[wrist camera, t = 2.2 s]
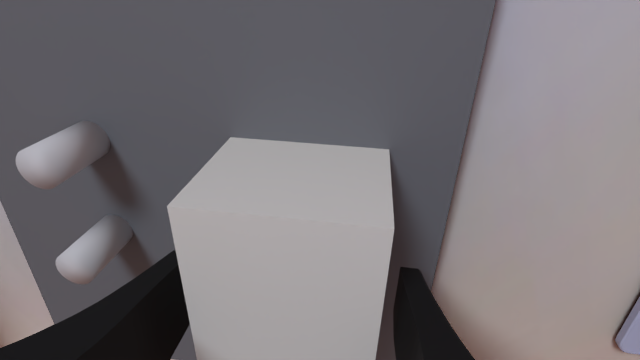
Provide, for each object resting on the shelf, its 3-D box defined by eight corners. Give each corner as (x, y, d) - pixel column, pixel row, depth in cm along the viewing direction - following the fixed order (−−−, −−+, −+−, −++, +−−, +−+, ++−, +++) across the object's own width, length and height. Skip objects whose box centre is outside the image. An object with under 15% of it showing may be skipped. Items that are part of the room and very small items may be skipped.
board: (494, -41, 10) (542, -49, 7) (406, 373, 19) (412, 449, 16) (-79, -55, 12) (-228, -66, 9) (76, 328, 21) (24, 387, 18)
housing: (230, 137, 13) (166, 206, 9) (389, 149, 12) (394, 228, 9) (247, 321, 17) (209, 422, 13) (366, 336, 17) (362, 446, 13)
